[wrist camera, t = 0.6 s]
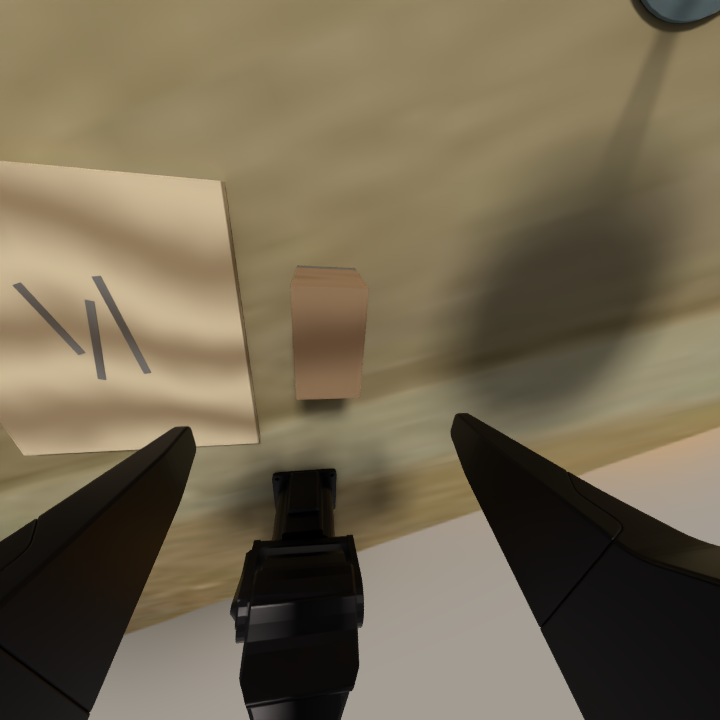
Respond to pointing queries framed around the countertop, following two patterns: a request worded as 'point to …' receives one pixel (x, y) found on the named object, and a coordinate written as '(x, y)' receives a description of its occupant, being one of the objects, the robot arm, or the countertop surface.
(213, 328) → the birch board
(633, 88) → the countertop surface
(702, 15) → the cocktail glass
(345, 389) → the block
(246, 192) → the countertop surface
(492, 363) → the countertop surface
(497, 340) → the countertop surface
